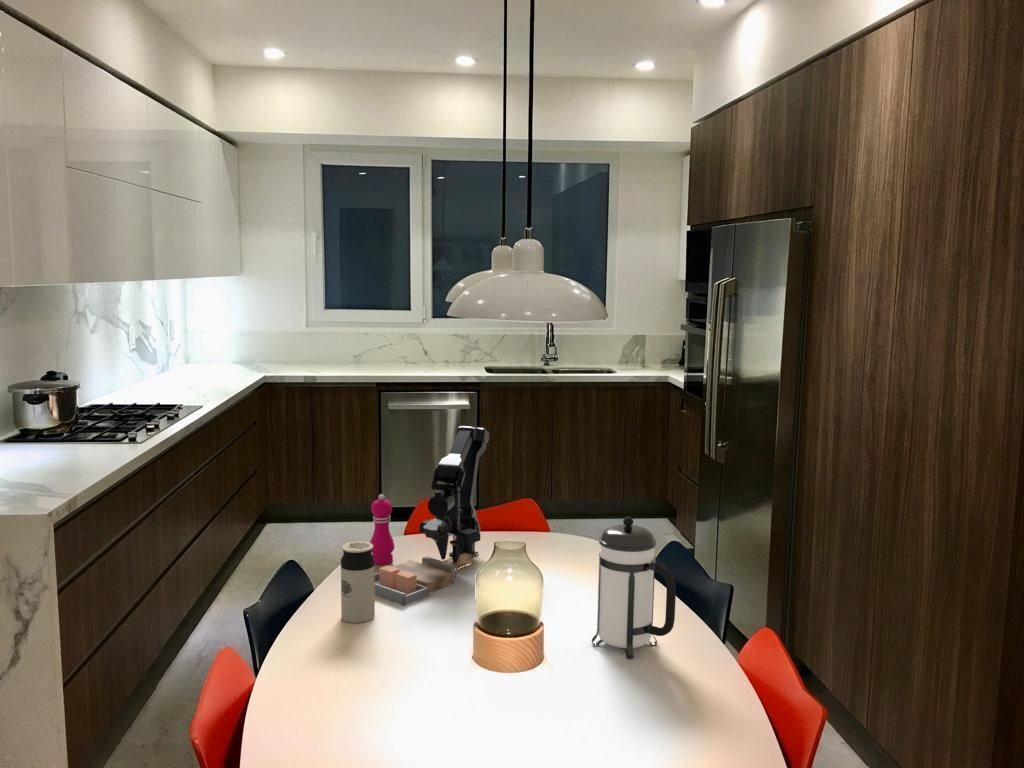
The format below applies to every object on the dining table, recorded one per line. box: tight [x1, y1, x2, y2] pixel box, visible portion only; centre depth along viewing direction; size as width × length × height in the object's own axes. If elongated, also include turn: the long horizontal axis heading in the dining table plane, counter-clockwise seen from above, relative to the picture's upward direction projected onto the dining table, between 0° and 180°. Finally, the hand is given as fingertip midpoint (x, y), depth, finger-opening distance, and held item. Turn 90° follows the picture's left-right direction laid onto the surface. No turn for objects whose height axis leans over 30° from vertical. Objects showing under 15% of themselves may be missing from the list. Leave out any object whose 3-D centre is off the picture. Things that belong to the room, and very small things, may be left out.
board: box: [393, 559, 454, 594], centre depth 236 cm, size 10×16×3 cm, turn 51°
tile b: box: [396, 571, 417, 594], centre depth 228 cm, size 4×4×3 cm
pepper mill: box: [369, 493, 395, 566], centre depth 251 cm, size 7×7×20 cm
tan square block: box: [378, 564, 399, 588], centre depth 232 cm, size 4×4×3 cm
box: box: [374, 572, 430, 607], centre depth 228 cm, size 9×18×3 cm, turn 51°
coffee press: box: [591, 516, 677, 659], centre depth 196 cm, size 17×16×30 cm
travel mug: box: [340, 541, 376, 624], centre depth 210 cm, size 8×8×18 cm
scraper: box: [421, 553, 473, 579], centre depth 247 cm, size 14×11×4 cm
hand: (449, 561), depth 245 cm, fingers open, 4 cm apart
